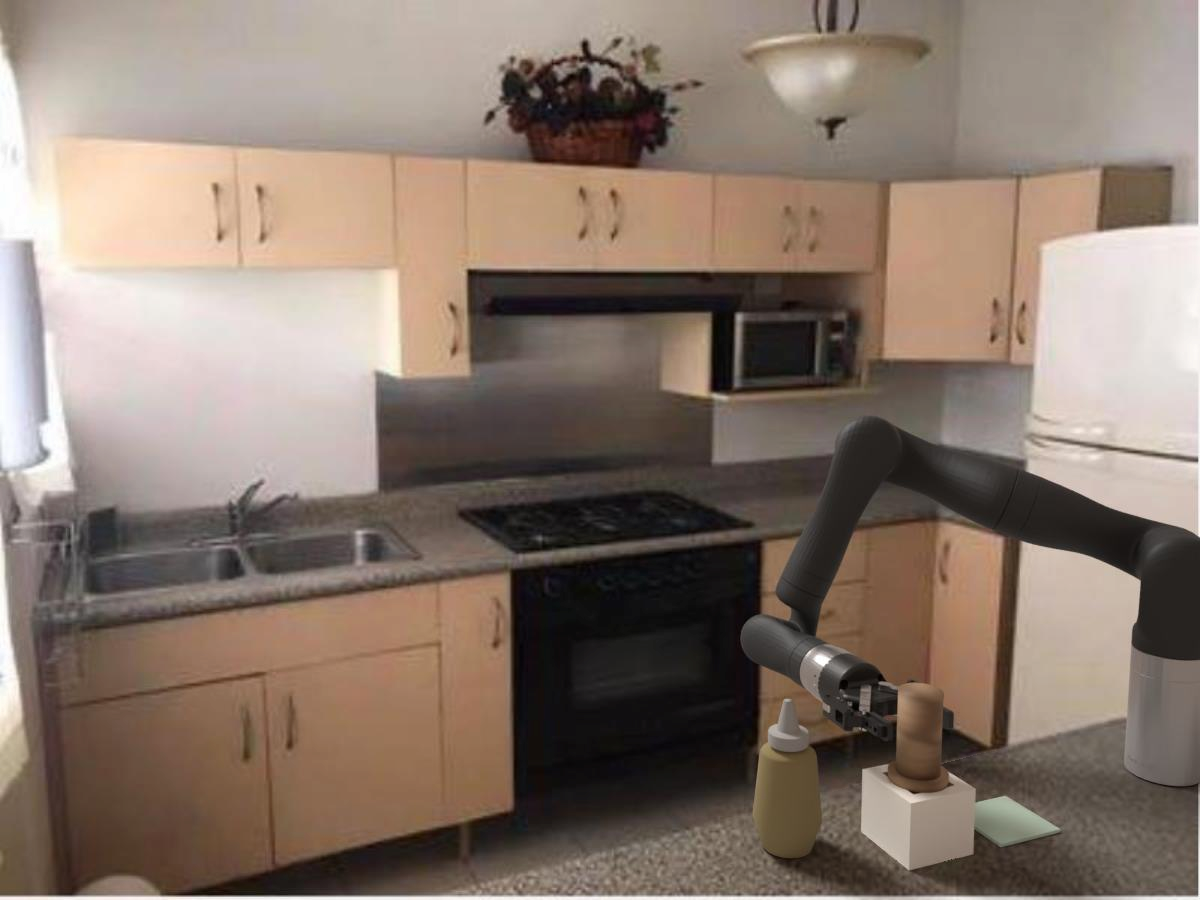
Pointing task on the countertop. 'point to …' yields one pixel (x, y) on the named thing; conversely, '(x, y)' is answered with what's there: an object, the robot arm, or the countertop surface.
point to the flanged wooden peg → (919, 740)
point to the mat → (1009, 822)
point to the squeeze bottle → (787, 789)
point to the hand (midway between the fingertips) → (921, 727)
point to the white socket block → (918, 819)
